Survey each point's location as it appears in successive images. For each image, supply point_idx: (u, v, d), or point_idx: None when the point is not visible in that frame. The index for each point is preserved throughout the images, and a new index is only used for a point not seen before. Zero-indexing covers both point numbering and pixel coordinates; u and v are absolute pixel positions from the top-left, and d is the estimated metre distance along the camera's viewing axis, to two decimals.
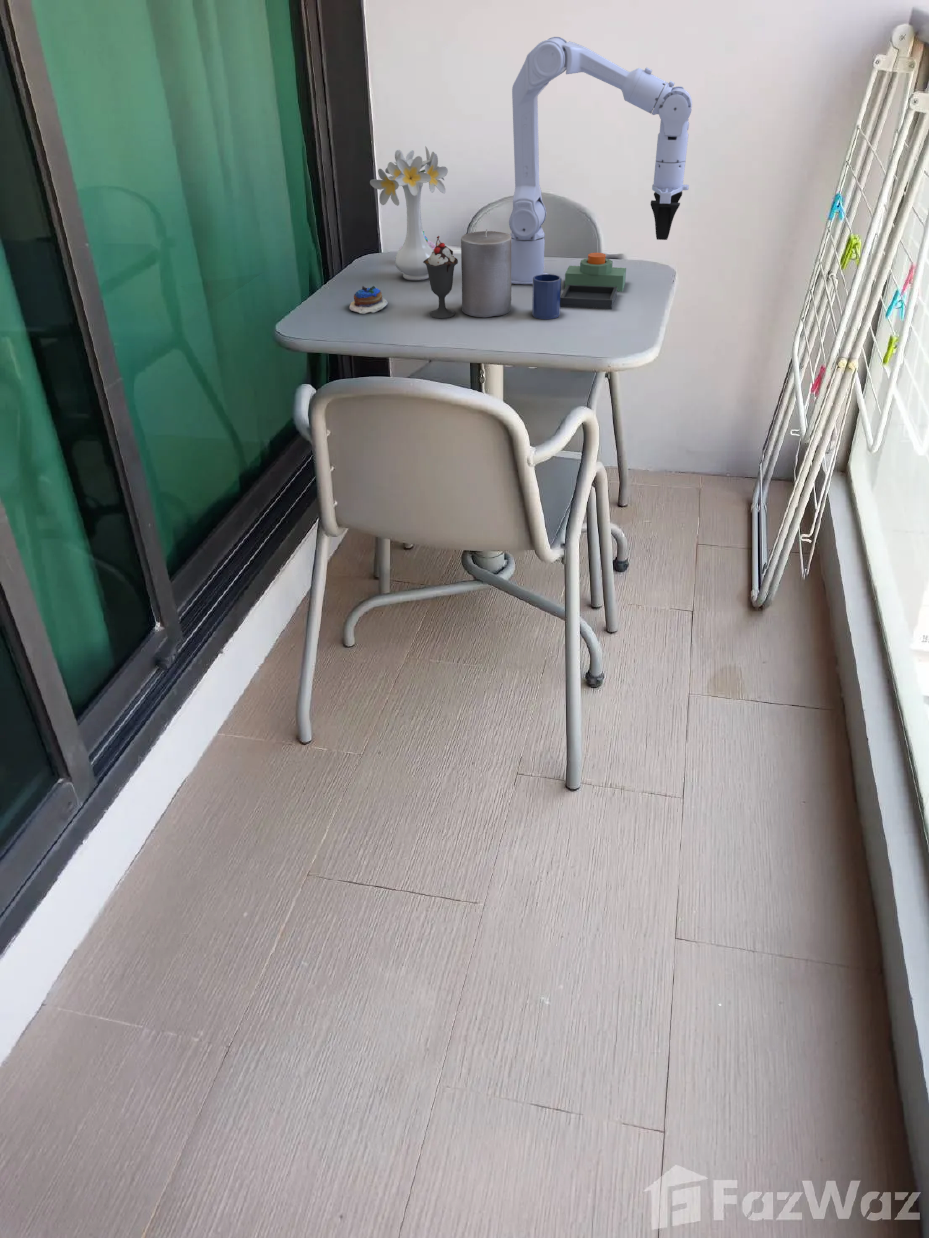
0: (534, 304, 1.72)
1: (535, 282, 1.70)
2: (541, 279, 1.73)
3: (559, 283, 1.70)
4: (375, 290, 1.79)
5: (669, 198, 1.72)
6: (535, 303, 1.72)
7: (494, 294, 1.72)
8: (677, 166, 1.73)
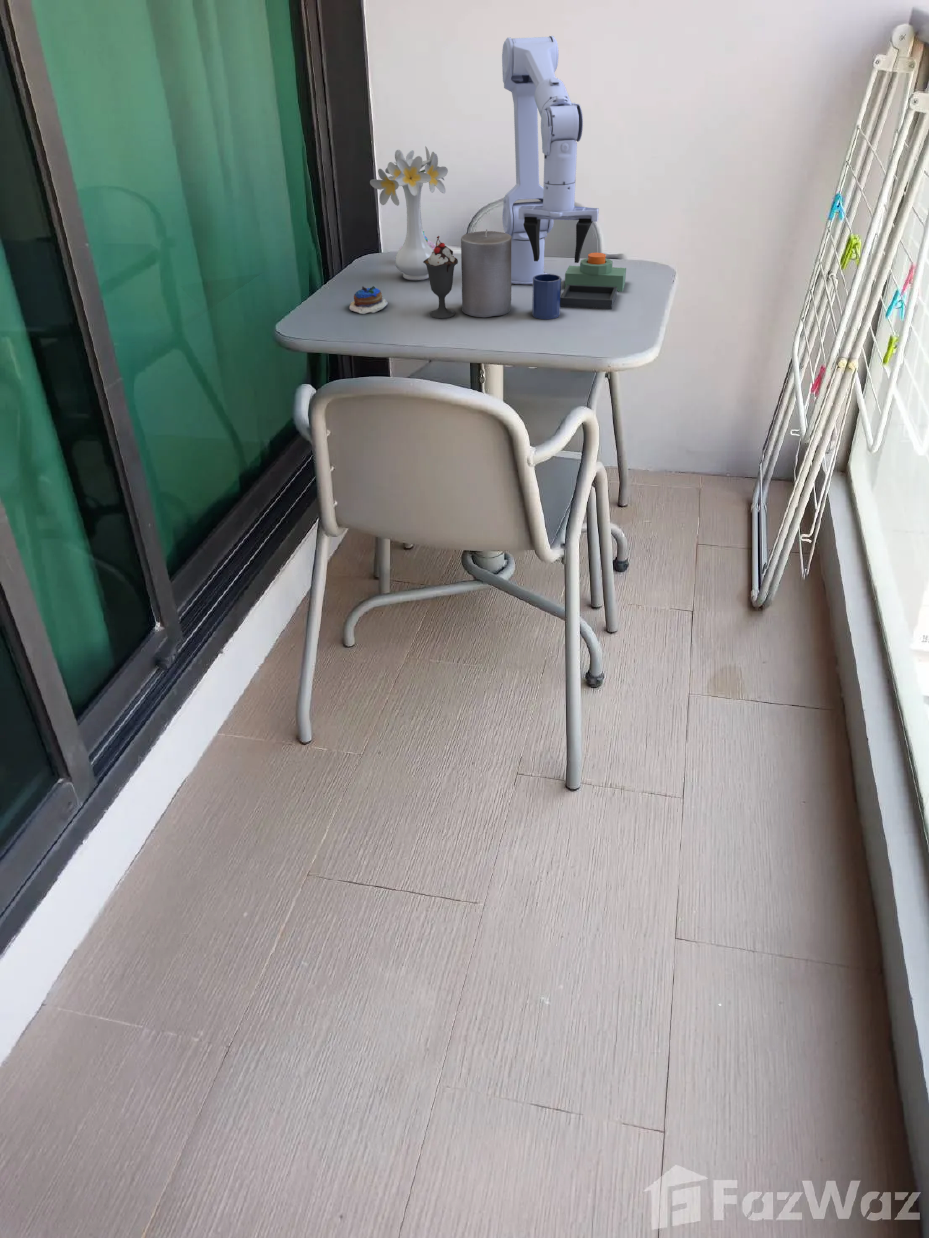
0: (534, 304, 1.72)
1: (535, 282, 1.70)
2: (541, 279, 1.73)
3: (559, 283, 1.70)
4: (375, 290, 1.79)
5: (518, 214, 1.66)
6: (535, 303, 1.72)
7: (494, 294, 1.71)
8: (544, 187, 1.61)
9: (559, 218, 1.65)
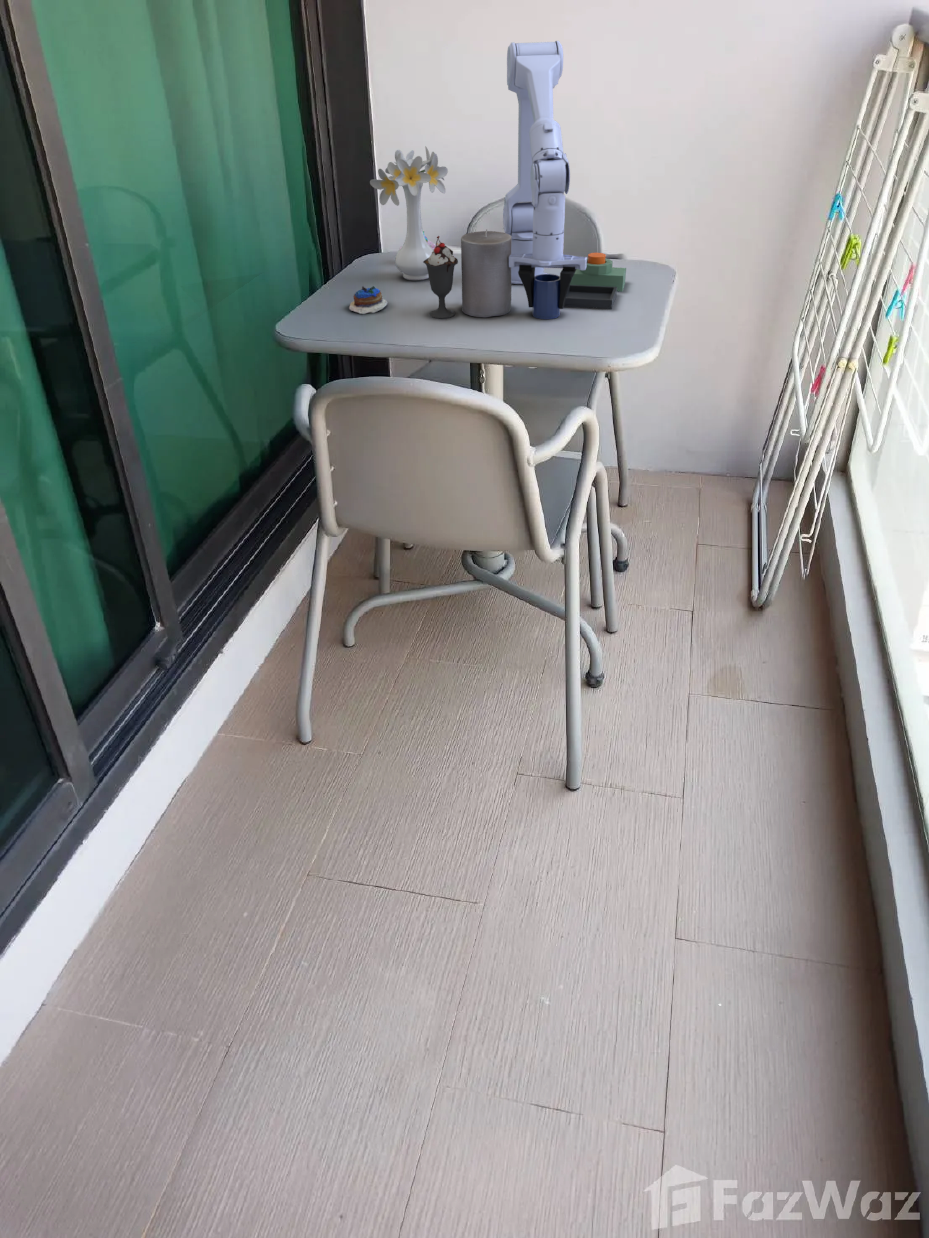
0: (534, 304, 1.72)
1: (535, 282, 1.70)
2: (541, 279, 1.73)
3: (559, 283, 1.70)
4: (375, 290, 1.79)
5: (509, 261, 1.70)
6: (536, 303, 1.72)
7: (494, 294, 1.72)
8: (534, 237, 1.65)
9: (548, 266, 1.69)
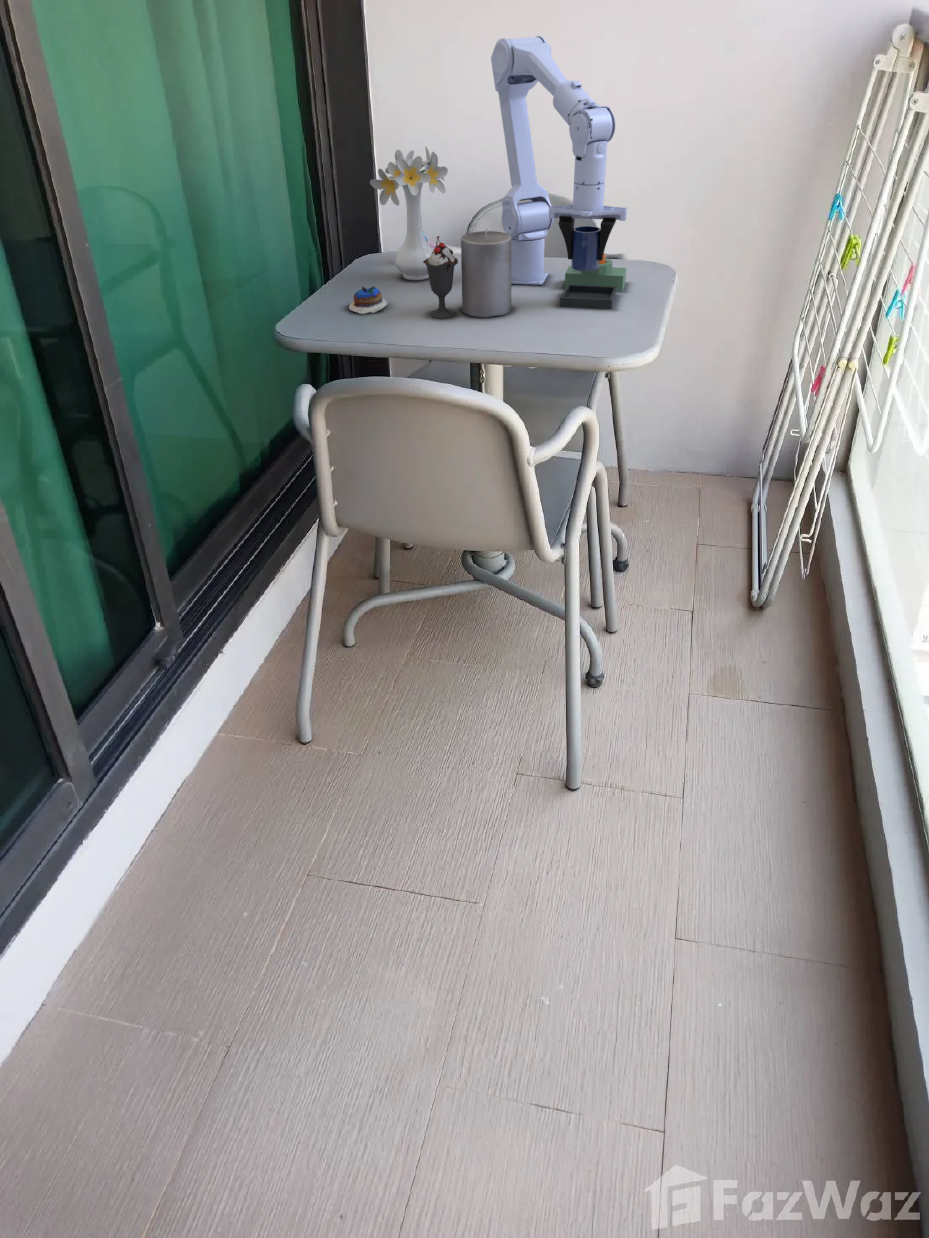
0: (574, 256, 1.74)
1: (575, 233, 1.71)
2: (581, 231, 1.74)
3: (599, 234, 1.71)
4: (375, 290, 1.79)
5: (549, 213, 1.71)
6: (575, 255, 1.73)
7: (494, 294, 1.71)
8: (575, 187, 1.67)
9: (588, 217, 1.70)
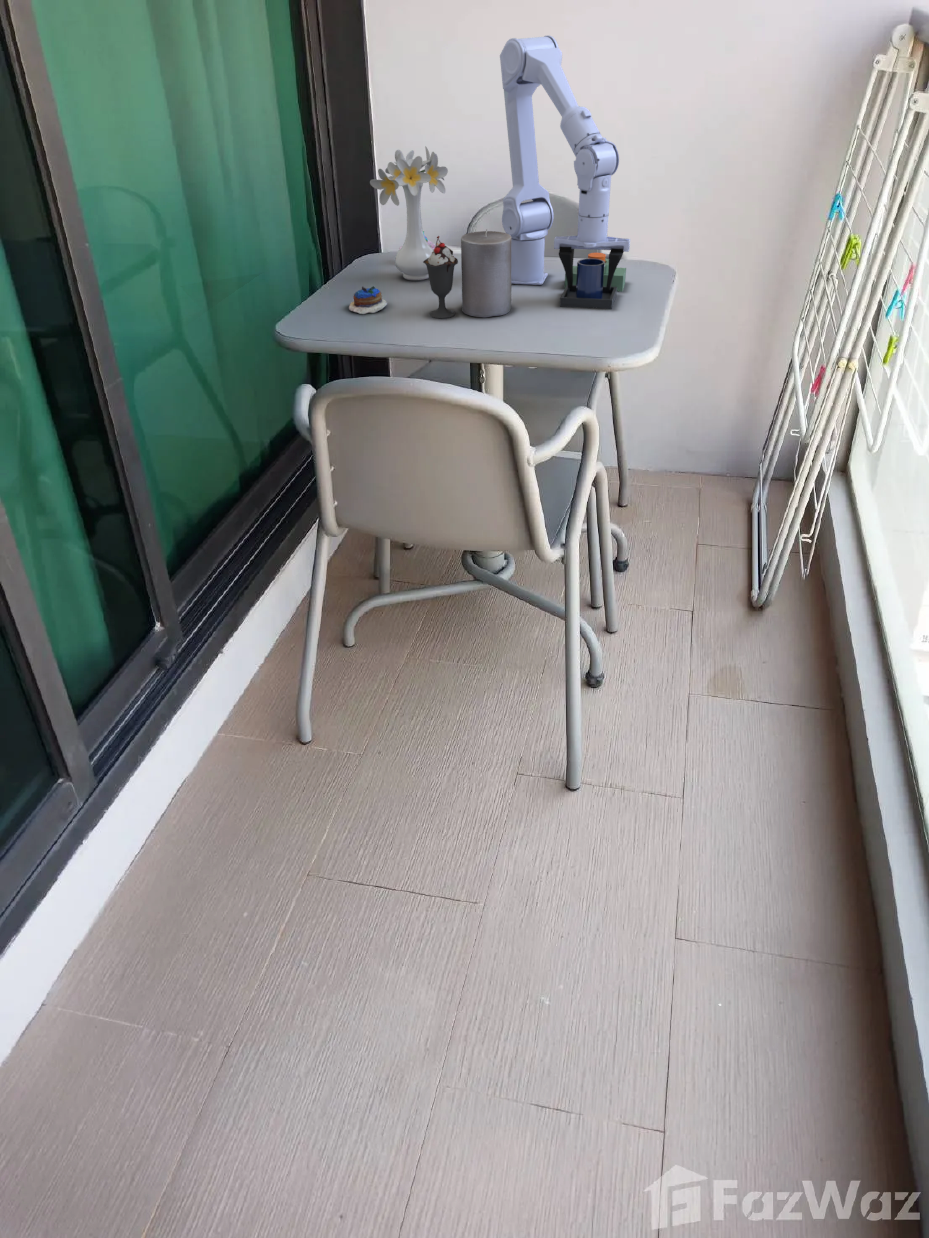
0: (578, 287, 1.78)
1: (580, 266, 1.76)
2: (585, 263, 1.79)
3: (603, 267, 1.76)
4: (375, 290, 1.79)
5: (554, 243, 1.75)
6: (579, 287, 1.78)
7: (494, 294, 1.72)
8: (579, 219, 1.71)
9: (592, 248, 1.75)
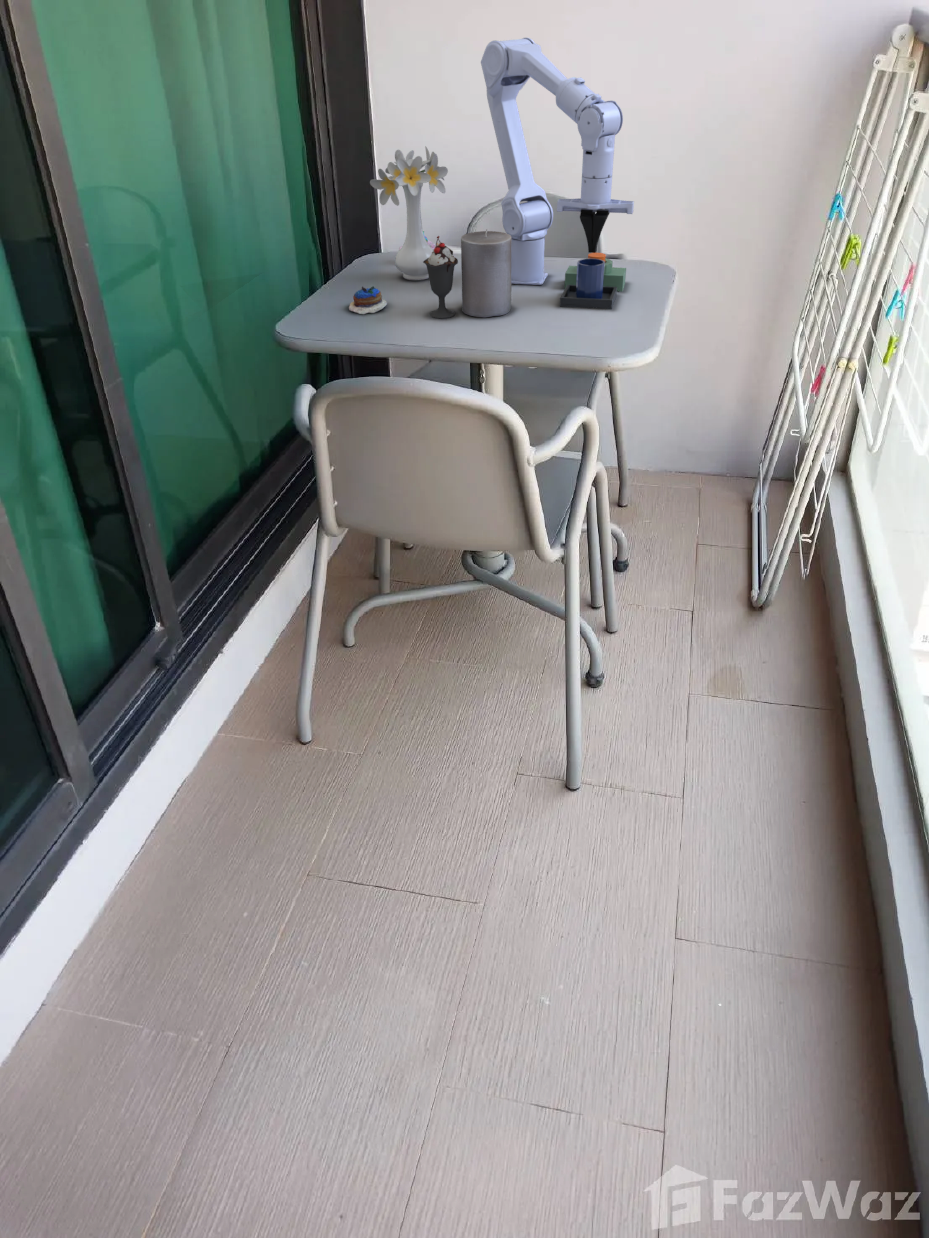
0: (578, 287, 1.78)
1: (580, 266, 1.76)
2: (585, 263, 1.79)
3: (603, 267, 1.76)
4: (374, 290, 1.79)
5: (557, 206, 1.74)
6: (579, 287, 1.78)
7: (494, 294, 1.71)
8: (583, 180, 1.69)
9: (596, 210, 1.73)
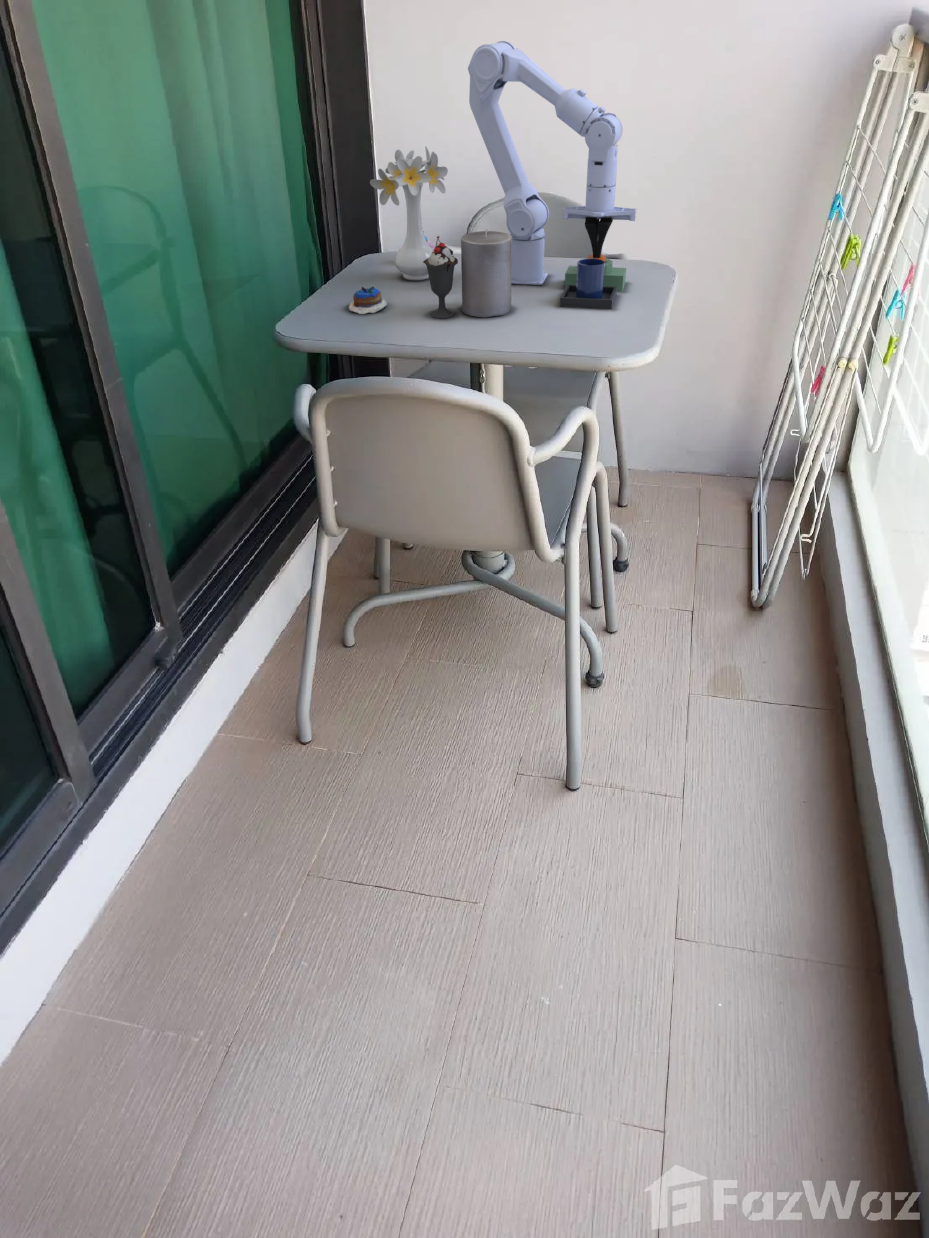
0: (578, 287, 1.78)
1: (580, 266, 1.76)
2: (585, 263, 1.79)
3: (603, 267, 1.76)
4: (374, 290, 1.79)
5: (563, 214, 1.82)
6: (579, 287, 1.78)
7: (494, 294, 1.71)
8: (587, 189, 1.77)
9: (600, 218, 1.81)
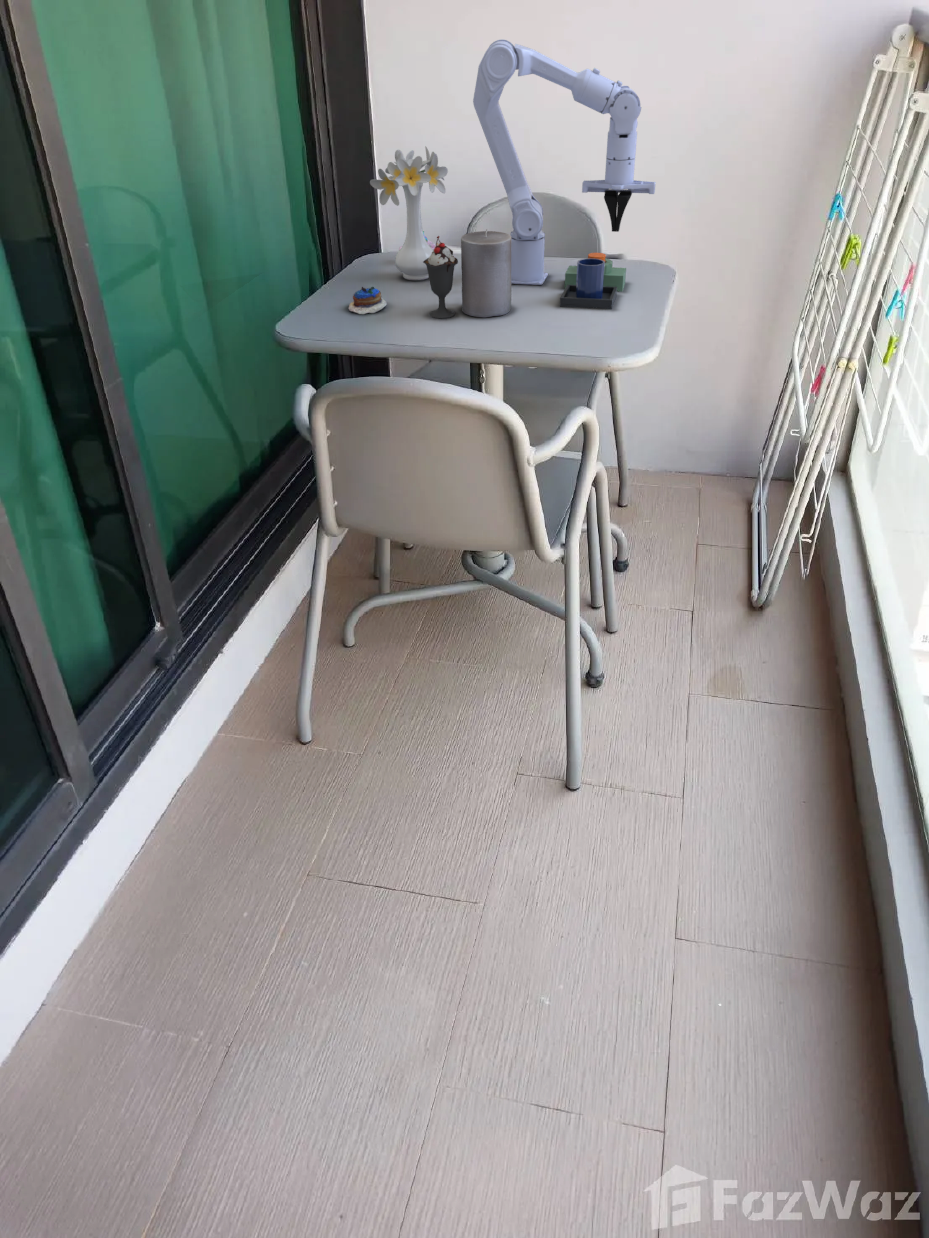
0: (578, 287, 1.78)
1: (580, 266, 1.76)
2: (585, 263, 1.79)
3: (603, 267, 1.76)
4: (374, 291, 1.79)
5: None
6: (579, 287, 1.78)
7: (494, 294, 1.72)
8: (607, 162, 1.79)
9: (619, 191, 1.82)
